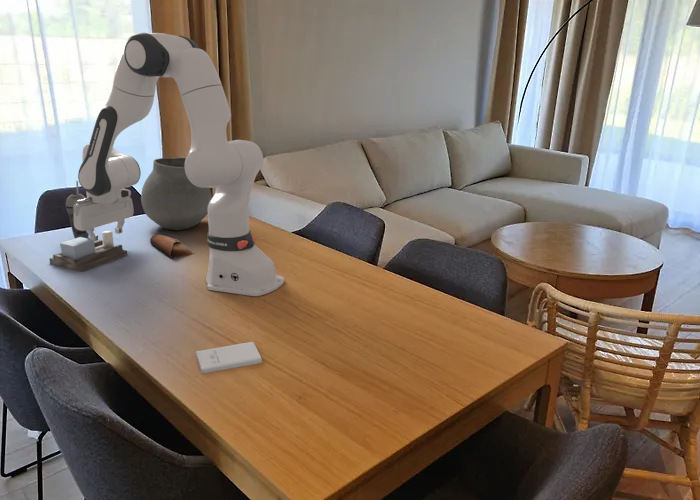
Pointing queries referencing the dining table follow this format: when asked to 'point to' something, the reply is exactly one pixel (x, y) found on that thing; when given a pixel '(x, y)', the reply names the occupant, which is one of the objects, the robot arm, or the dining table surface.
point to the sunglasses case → (170, 246)
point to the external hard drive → (228, 357)
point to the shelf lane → (90, 258)
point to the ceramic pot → (173, 196)
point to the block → (85, 246)
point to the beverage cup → (69, 206)
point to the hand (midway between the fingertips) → (107, 236)
